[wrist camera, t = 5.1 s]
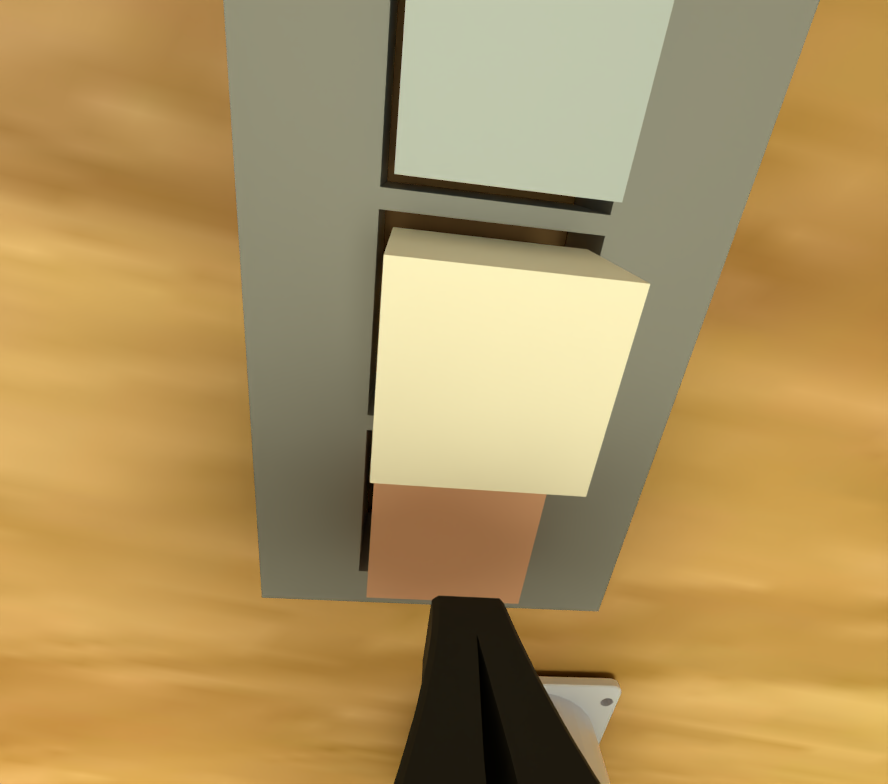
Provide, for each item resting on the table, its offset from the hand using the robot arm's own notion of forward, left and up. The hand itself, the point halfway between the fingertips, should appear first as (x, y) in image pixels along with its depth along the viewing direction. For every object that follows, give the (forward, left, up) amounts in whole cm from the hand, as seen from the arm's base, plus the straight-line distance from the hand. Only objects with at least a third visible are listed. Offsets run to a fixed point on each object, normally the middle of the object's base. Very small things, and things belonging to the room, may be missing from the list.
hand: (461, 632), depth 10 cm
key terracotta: (0, 0, -5) cm, 5 cm away
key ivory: (+5, 0, -4) cm, 6 cm away
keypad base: (+5, 0, -6) cm, 8 cm away
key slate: (+10, 0, -5) cm, 11 cm away
